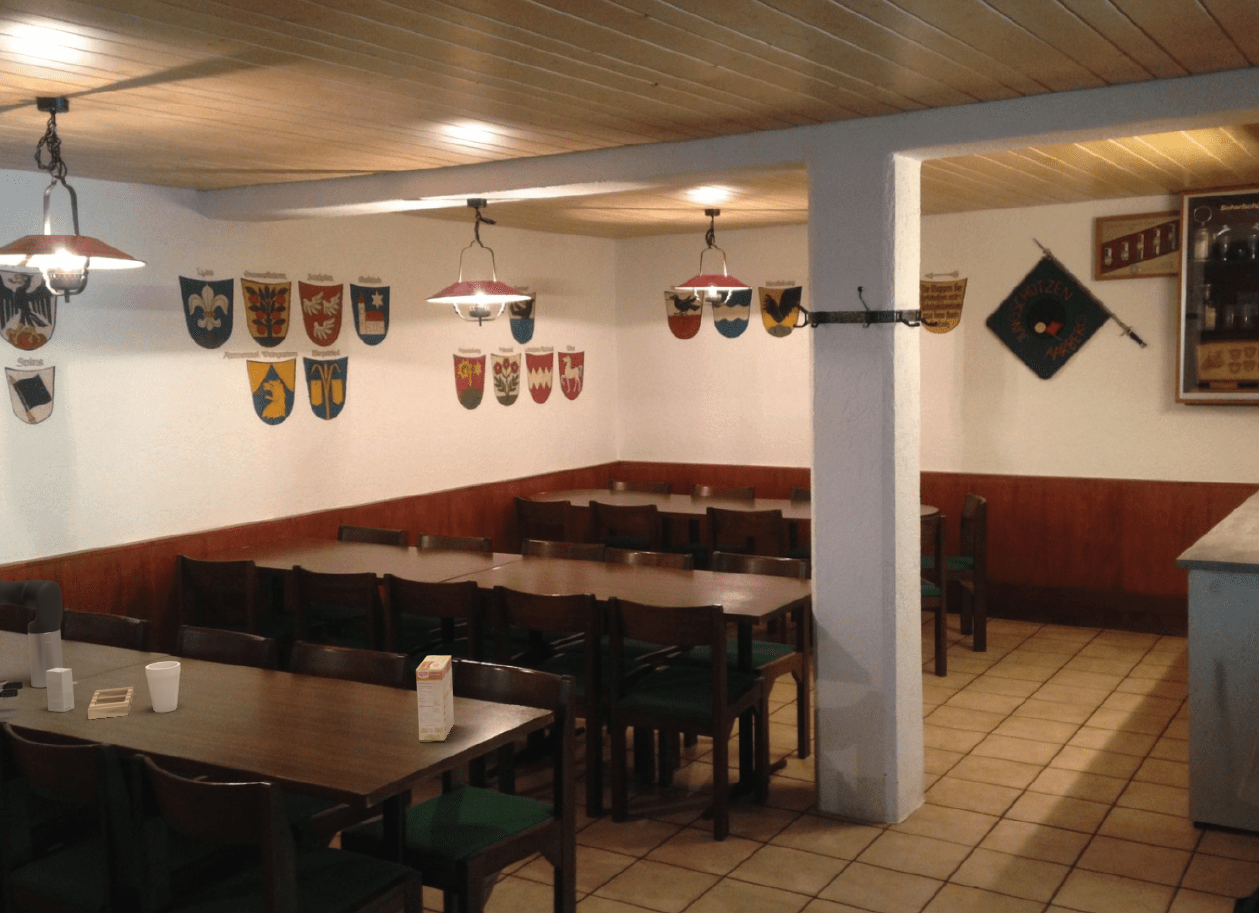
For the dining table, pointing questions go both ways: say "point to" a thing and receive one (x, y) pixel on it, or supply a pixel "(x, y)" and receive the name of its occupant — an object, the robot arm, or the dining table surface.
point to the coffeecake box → (435, 697)
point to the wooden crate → (111, 703)
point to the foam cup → (163, 685)
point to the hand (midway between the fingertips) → (20, 688)
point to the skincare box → (60, 689)
